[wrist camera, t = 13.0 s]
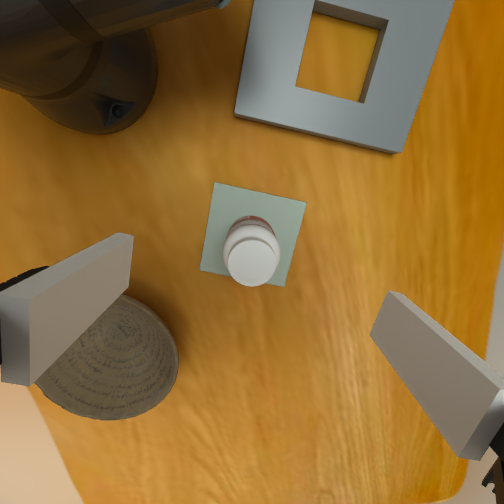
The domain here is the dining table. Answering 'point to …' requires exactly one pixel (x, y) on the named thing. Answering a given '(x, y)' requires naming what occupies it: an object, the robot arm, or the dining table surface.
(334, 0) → the socket block
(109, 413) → the bowl
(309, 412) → the dining table surface
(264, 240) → the pill bottle
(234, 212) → the mat
